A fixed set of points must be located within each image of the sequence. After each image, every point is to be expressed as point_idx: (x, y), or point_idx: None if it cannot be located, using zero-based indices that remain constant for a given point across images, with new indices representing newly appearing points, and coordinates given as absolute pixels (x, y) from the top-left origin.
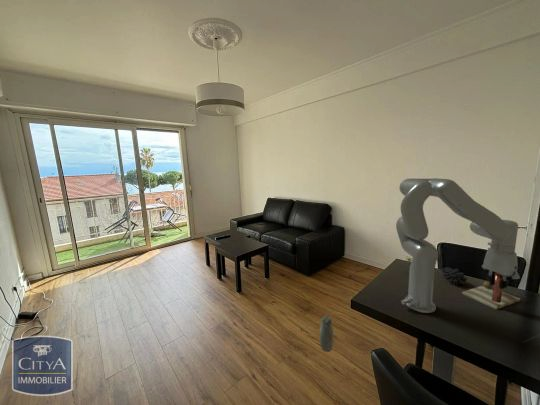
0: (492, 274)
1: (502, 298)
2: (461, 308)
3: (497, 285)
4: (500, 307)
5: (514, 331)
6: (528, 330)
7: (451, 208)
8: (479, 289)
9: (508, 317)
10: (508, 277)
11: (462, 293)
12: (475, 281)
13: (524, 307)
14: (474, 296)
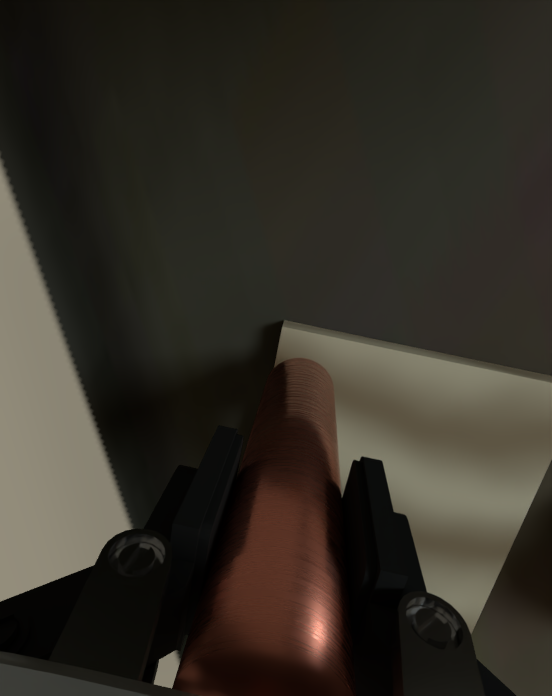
0: (391, 654)
1: None
2: (504, 34)
3: (277, 462)
4: None
5: (77, 34)
6: (39, 167)
7: None
8: (469, 553)
9: (186, 259)
10: (25, 644)
11: None
12: (527, 690)
13: None
14: (469, 380)
